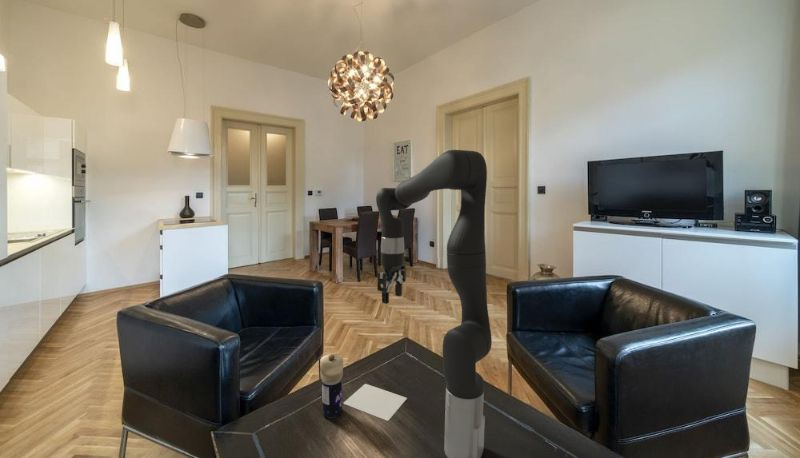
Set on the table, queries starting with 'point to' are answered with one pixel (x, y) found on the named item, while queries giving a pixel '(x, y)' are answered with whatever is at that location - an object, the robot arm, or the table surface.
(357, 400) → the mat
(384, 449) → the table surface
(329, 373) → the lid
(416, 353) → the table surface
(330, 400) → the beverage can
